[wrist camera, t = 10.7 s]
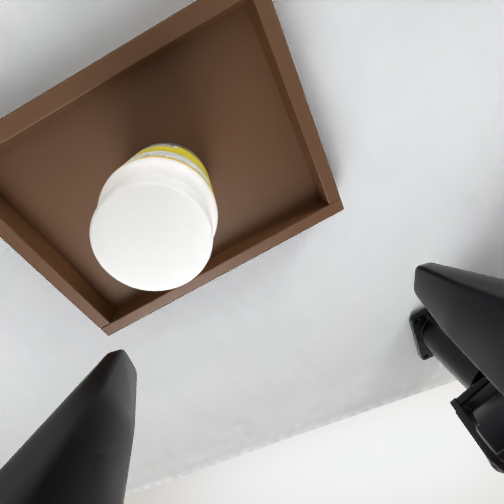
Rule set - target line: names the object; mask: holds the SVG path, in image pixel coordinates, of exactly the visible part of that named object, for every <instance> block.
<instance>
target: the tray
mask: <svg viewBox="0 0 504 504" xmlns="http://www.w3.org/2000/svg"><path fill="white" fill-rule="evenodd" d="M158 143H171V144H176V145H179V146H182V147H184V148H186V149H188V150H190V151H191V152H192V153H194V154H195V155H196V156H197V157H198V158H199V159H200V160H201V162H202V163H203V165H204V166H205V168H206V170H207V173H208V176H209V179H210V183H211V186H212V189H213V193H214V196H215V200H216V204H217V210H218V223H217V228H216V232H215V235H214V237H213V247H212V252H211V255H210V258H209V260H208V262H207V264H206V265H205V267H204V268H203V270H202V271H201V272H200V273H199V274H198V275H197V276H196V277H195V278H193V279H192V280H191V281H189V282H188V283H186V284H184V285H182V286H179V287H177V288H173V289H169V290H163V291H147V290H140V289H137V288H133V287H130V286H128V285H126V284H124V283H122V282H120V281H118V280H117V279H115V278H114V277H112V276H111V275H110V274H109V273H108V272H107V271H105V269H104V268H103V267H102V266H101V265H100V263H99V262H98V260H97V259H96V256H95V255H94V252H93V250H92V247H91V242H90V223H91V219H92V217H93V214H94V212H95V210H96V208H97V205H98V200H99V197H100V194H101V191H102V189H103V186H104V185H105V183H106V181H107V180H108V179H109V177H110V176H111V175H112V174H113V173H114V172H115V171H116V170H117V169H118V168H120V167H121V166H122V165H124V164H125V163H126V162H127V161H128V160H129V159H131V158H132V157H133V156H134V155H136V154H137V153H138V152H139V151H141V150H142V149H144V148H146V147H148V146H150V145H153V144H158ZM343 209H344V208H343V205H342V202H341V199H340V196H339V193H338V190H337V187H336V184H335V181H334V179H333V176H332V173H331V170H330V167H329V164H328V161H327V158H326V155H325V153H324V150H323V147H322V144H321V141H320V138H319V135H318V132H317V129H316V127H315V124H314V121H313V118H312V115H311V112H310V109H309V106H308V103H307V101H306V98H305V95H304V92H303V89H302V86H301V83H300V80H299V77H298V75H297V72H296V69H295V66H294V63H293V60H292V57H291V54H290V51H289V49H288V46H287V43H286V40H285V37H284V34H283V31H282V28H281V25H280V23H279V20H278V17H277V14H276V11H275V8H274V5H273V2H272V0H197V1H195V2H193V3H192V4H190V5H188V6H187V7H185V8H183V9H182V10H180V11H179V12H177V13H175V14H174V15H172V16H170V17H169V18H167V19H165V20H164V21H162V22H160V23H159V24H157V25H155V26H154V27H152V28H150V29H149V30H147V31H145V32H144V33H142V34H140V35H139V36H137V37H135V38H134V39H132V40H130V41H129V42H127V43H126V44H124V45H122V46H121V47H119V48H117V49H116V50H114V51H112V52H111V53H109V54H107V55H106V56H104V57H102V58H101V59H99V60H97V61H96V62H94V63H92V64H91V65H89V66H87V67H86V68H84V69H82V70H81V71H79V72H78V73H76V74H74V75H73V76H71V77H69V78H68V79H66V80H64V81H63V82H61V83H59V84H58V85H56V86H54V87H53V88H51V89H49V90H48V91H46V92H44V93H43V94H41V95H39V96H38V97H36V98H34V99H33V100H31V101H29V102H28V103H26V104H25V105H23V106H21V107H20V108H18V109H16V110H15V111H13V112H11V113H10V114H8V115H6V116H5V117H3V118H1V119H0V237H1V238H2V239H3V240H4V241H5V242H6V243H8V244H9V245H10V246H11V247H12V248H13V249H14V250H15V251H16V252H17V253H19V254H20V255H21V256H22V257H23V258H24V259H25V260H26V261H27V262H28V263H29V264H31V265H32V266H33V267H34V268H35V269H36V270H37V271H38V272H39V273H40V274H42V275H43V276H44V277H45V278H46V279H47V280H48V281H49V282H50V283H51V284H52V285H54V286H55V287H56V288H57V289H58V290H59V291H60V292H61V293H62V294H63V295H64V296H66V297H67V298H68V299H69V300H70V301H71V302H72V303H73V304H74V305H75V306H77V307H78V308H79V309H80V310H81V311H82V312H83V313H84V314H85V315H86V316H87V317H89V318H90V319H91V320H92V321H93V322H94V323H95V324H96V325H97V326H98V327H99V328H101V329H102V330H103V331H104V332H105V333H106V334H107V335H108V336H109V335H111V334H113V333H115V332H117V331H119V330H120V329H122V328H124V327H126V326H128V325H130V324H132V323H133V322H135V321H137V320H139V319H141V318H143V317H145V316H146V315H148V314H150V313H152V312H154V311H156V310H158V309H159V308H161V307H163V306H165V305H167V304H169V303H171V302H172V301H174V300H176V299H178V298H180V297H182V296H184V295H185V294H187V293H189V292H191V291H193V290H195V289H197V288H198V287H200V286H202V285H204V284H206V283H208V282H210V281H211V280H213V279H215V278H217V277H219V276H221V275H223V274H224V273H226V272H228V271H230V270H232V269H234V268H236V267H237V266H239V265H241V264H243V263H245V262H247V261H249V260H250V259H252V258H254V257H256V256H258V255H260V254H262V253H263V252H265V251H267V250H269V249H271V248H273V247H275V246H276V245H278V244H280V243H282V242H284V241H286V240H288V239H289V238H291V237H293V236H295V235H297V234H299V233H301V232H302V231H304V230H306V229H308V228H310V227H312V226H314V225H315V224H317V223H319V222H321V221H323V220H325V219H327V218H328V217H330V216H332V215H334V214H336V213H338V212H340V211H341V210H343Z"/></svg>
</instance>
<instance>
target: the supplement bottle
mask: <svg viewBox="0 0 504 504" xmlns="http://www.w3.org/2000/svg"><path fill="white" fill-rule="evenodd" d="M217 223H218V210H217V204H216V200H215V196H214V193H213V189H212V186H211V183H210V179H209V176H208V173H207V170H206V168H205V166H204V165H203V163H202V162H201V160H200V159H199V158H198V157H197V156H196V155H195V154H194V153H192V152H191V151H190V150H188V149H186V148H184V147H182V146H179V145H176V144H171V143H158V144H153V145H150V146H148V147H146V148H144V149H142V150H141V151H139V152H138V153H137V154H136V155H134V156H133V157H132V158H131V159H129V160H128V161H127V162H126V163H125V164H124V165H122V166H121V167H120V168H118V169H117V170H116V171H115V172H114V173H113V174H112V175H111V176H110V177H109V179H108V180H107V181H106V183H105V185H104V186H103V189H102V191H101V194H100V197H99V200H98V205H97V208H96V210H95V212H94V214H93V217H92V219H91V223H90V242H91V247H92V250H93V252H94V255H95V256H96V259H97V260H98V262H99V263H100V265H101V266H102V267H103V268H104V269H105V271H107V272H108V273H109V274H110V275H111V276H112V277H114V278H115V279H117V280H118V281H120V282H122V283H124V284H126V285H128V286H130V287H133V288H137V289H140V290H147V291H163V290H169V289H173V288H177V287H179V286H182V285H184V284H186V283H188V282H189V281H191V280H192V279H193V278H195V277H196V276H197V275H198V274H199V273H200V272H201V271H202V270H203V268H204V267H205V265H206V264H207V262H208V260H209V258H210V255H211V252H212V247H213V237H214V235H215V232H216V228H217Z"/></svg>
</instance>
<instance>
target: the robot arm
mask: <svg viewBox="0 0 504 504" xmlns="http://www.w3.org/2000/svg"><path fill="white" fill-rule="evenodd" d="M414 290H415V293H416V295H417V297H418V298H419V299H420V301H421V302H422V303H423V304H424V306H425V307H426V309H424V310H422V311H420V312H418V313H416V314H414V315H412V316H411V317H410V319H409V321H410V325H411V329H412V332H413V336H414V339H415V343H416V346H417V350H418V354H419V356H420V357H421V358H422V359H423V360H426V359H428V358H430V357H432V356H435V357H436V358H437V359H438V360H439V361H440V362H441V363H442V364H443V365H444V366H445V367H446V368H447V369H448V370H449V371H450V372H451V373H452V374H453V375H454V376H455V377H456V378H457V379H458V380H459V382H460V383H461V384H462V385H464V387H465V388H466V389H467V390H466V391H465V392H463V393H462V394H461V395H460V396H459V397H458V398H457V399H456V398H455V399H453V400H452V401H451V402H450V403H451V405H452V406H453V407H454V409H455V410H456V414H457V415H458V417H459V418H460V419H461V421H462V422H463V424H464V425H465V427H466V428H467V430H468V431H469V432H470V434H471V435H472V437H473V438H474V439H475V441H476V442H477V444H478V445H479V446H480V448H481V449H482V451H483V452H484V454H485V455H486V457H487V459H488V460H489V462H490V464H491V466H492V467H493V468H494V469H495V470H496V471H498V472H501V473H504V279H500V278H495V277H491V276H487V275H483V274H478V273H474V272H470V271H465V270H461V269H457V268H452V267H448V266H444V265H439V264H435V263H426V264H423V265H419V266H417V268H416V270H415V281H414ZM136 382H137V373H136V369H135V367H134V365H133V364H132V362H131V360H130V358H129V357H128V355H127V353H126V352H125V351H124V350H117V351H114V352H110V353H108V354H107V355H106V356H105V357H104V358H103V359H102V360H101V361H100V362H99V363H98V364H97V366H96V367H95V368H94V369H93V370H92V371H91V372H90V373H89V374H88V375H87V376H86V377H85V379H84V380H83V381H82V382H81V383H80V384H79V385H78V386H77V387H76V388H75V389H74V390H73V392H72V393H71V394H70V395H69V396H68V397H67V398H66V399H65V400H64V401H63V402H62V403H61V405H60V406H59V407H58V408H57V409H56V410H55V411H54V412H53V413H52V414H51V415H50V416H49V418H48V419H47V420H46V421H45V422H44V423H43V424H42V425H41V426H40V427H39V428H38V429H37V431H36V432H35V433H34V434H33V435H32V436H31V437H30V438H29V439H28V440H27V441H26V442H25V444H24V445H23V446H22V447H21V448H20V449H19V450H18V451H17V452H16V453H15V454H14V455H13V457H12V458H11V459H10V460H9V461H8V462H7V463H6V464H5V465H4V466H3V467H2V468H1V469H0V504H123V503H124V497H125V490H126V483H127V477H128V470H129V463H130V456H131V450H132V443H133V436H134V427H135V406H136Z"/></svg>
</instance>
